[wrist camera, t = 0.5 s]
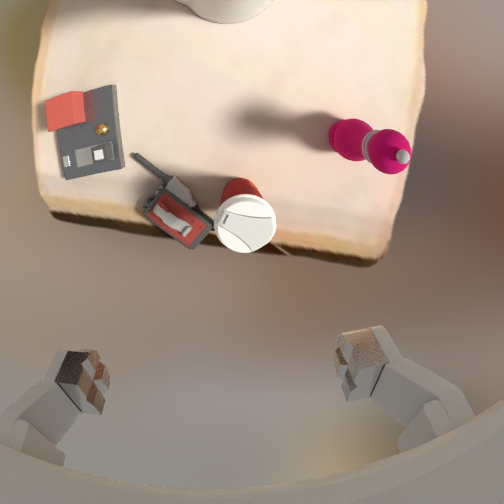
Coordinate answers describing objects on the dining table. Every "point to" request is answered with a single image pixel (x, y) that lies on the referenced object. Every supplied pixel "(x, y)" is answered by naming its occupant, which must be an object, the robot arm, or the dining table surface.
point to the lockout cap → (65, 110)
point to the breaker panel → (93, 135)
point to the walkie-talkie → (176, 210)
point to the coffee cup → (244, 217)
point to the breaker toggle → (101, 153)
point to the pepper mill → (370, 145)
